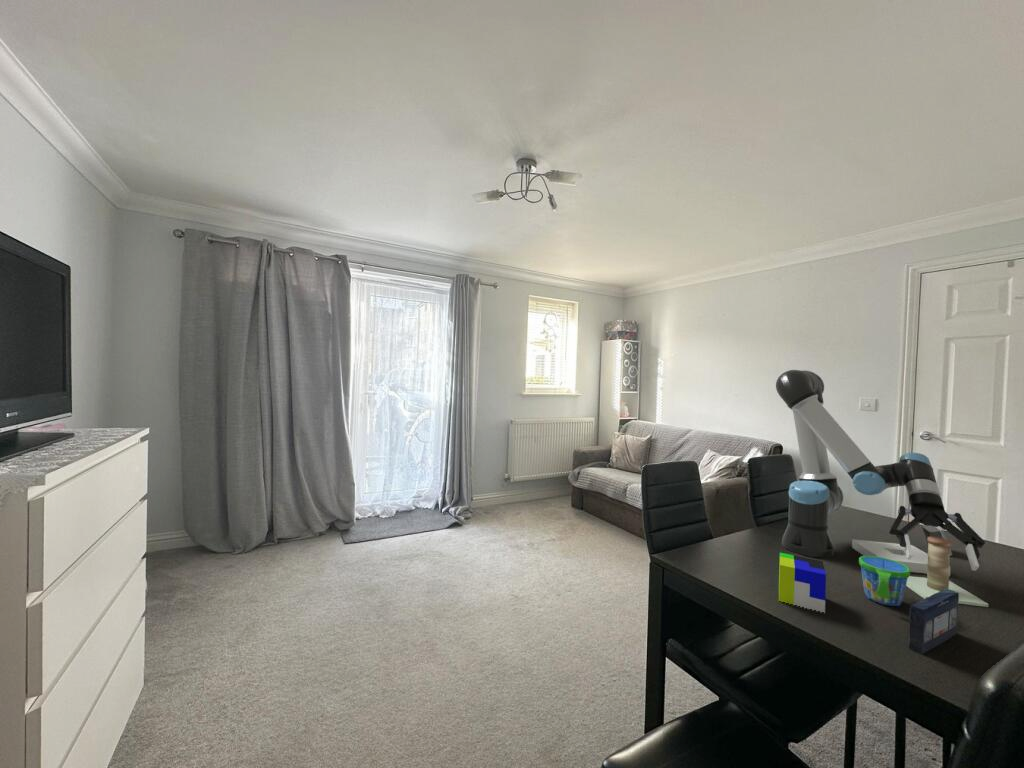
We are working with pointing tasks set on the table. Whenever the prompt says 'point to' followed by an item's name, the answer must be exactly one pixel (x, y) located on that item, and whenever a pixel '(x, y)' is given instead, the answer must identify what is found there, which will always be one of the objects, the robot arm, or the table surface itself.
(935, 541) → the plug
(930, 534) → the electrical switch
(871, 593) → the snack cup
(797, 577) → the puzzle toy
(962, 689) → the table surface
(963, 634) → the table surface
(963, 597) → the pad
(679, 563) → the table surface
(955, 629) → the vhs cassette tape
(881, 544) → the socket block
